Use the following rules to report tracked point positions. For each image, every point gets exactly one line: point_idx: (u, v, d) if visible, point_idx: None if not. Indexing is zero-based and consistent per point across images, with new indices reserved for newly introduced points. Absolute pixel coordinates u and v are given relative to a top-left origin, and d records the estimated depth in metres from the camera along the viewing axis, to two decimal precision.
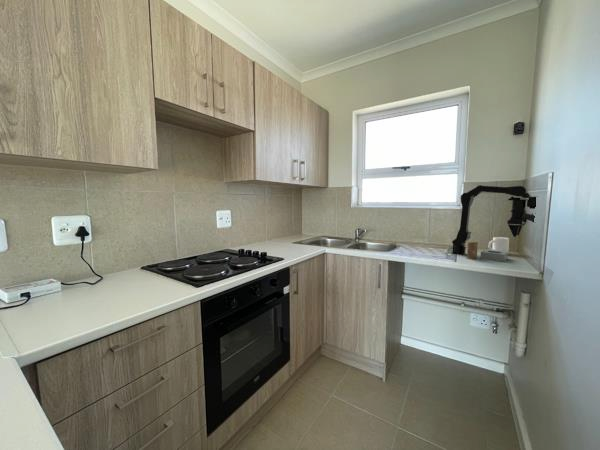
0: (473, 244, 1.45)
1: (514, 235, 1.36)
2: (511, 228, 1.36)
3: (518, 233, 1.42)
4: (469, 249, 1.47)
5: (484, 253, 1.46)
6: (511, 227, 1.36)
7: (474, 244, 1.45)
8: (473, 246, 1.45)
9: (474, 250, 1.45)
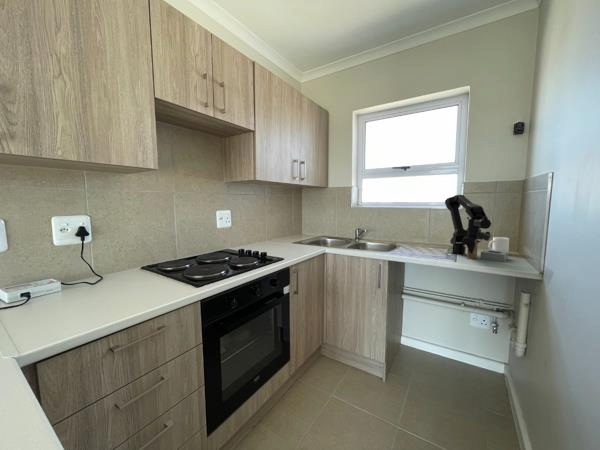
0: None
1: (470, 252, 1.46)
2: (467, 245, 1.46)
3: None
4: None
5: (484, 253, 1.46)
6: (467, 244, 1.46)
7: None
8: None
9: (474, 250, 1.45)
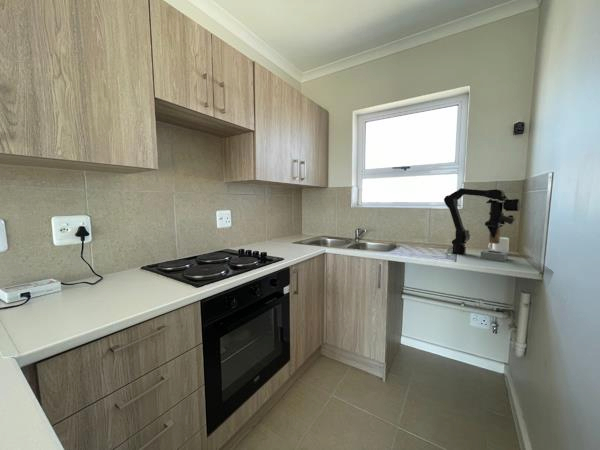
0: None
1: (493, 236, 1.44)
2: (490, 229, 1.44)
3: None
4: None
5: (484, 253, 1.46)
6: (490, 228, 1.44)
7: None
8: None
9: (497, 234, 1.43)
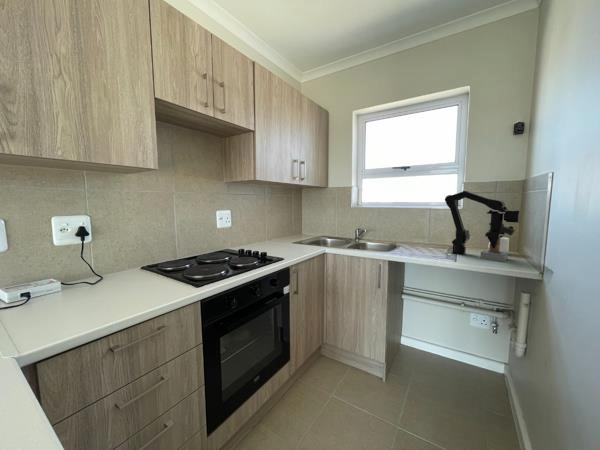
0: None
1: (493, 246, 1.45)
2: (490, 240, 1.45)
3: None
4: None
5: (484, 253, 1.46)
6: (490, 239, 1.45)
7: None
8: None
9: (497, 245, 1.44)
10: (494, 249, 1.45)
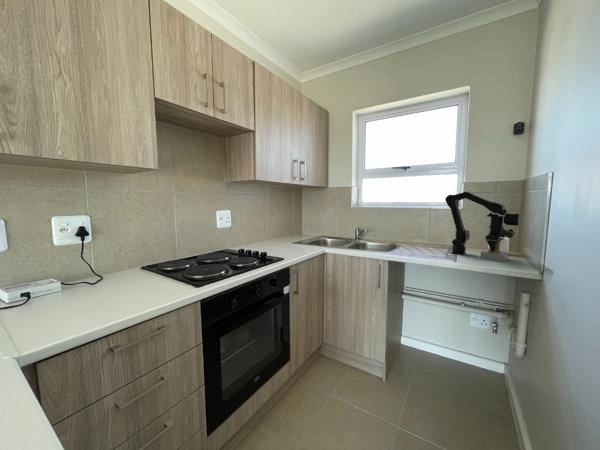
0: (496, 244, 1.44)
1: (492, 250, 1.44)
2: (489, 243, 1.44)
3: None
4: None
5: (484, 253, 1.46)
6: (489, 242, 1.43)
7: (497, 244, 1.44)
8: (496, 246, 1.44)
9: (497, 250, 1.44)
10: None
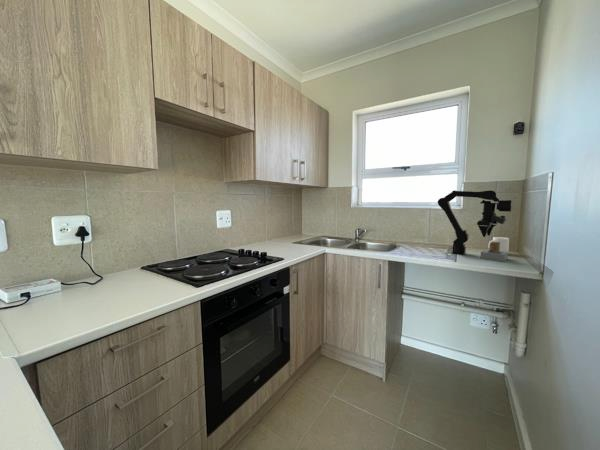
0: (496, 244, 1.44)
1: (483, 235, 1.49)
2: (481, 229, 1.49)
3: (489, 233, 1.54)
4: (492, 249, 1.46)
5: (484, 253, 1.46)
6: (481, 228, 1.49)
7: (497, 244, 1.44)
8: (496, 246, 1.44)
9: (497, 250, 1.44)
10: None
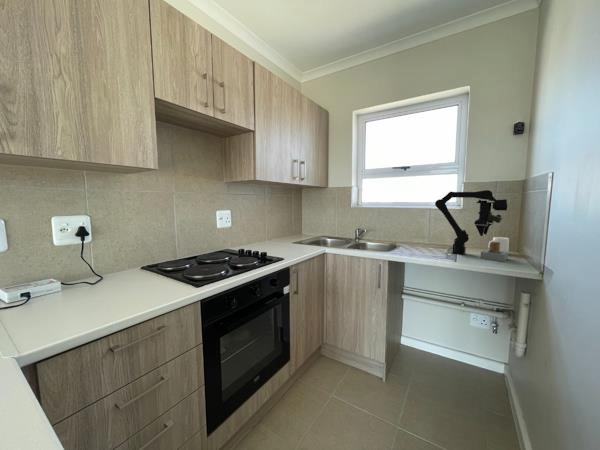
0: (496, 244, 1.44)
1: (481, 234, 1.51)
2: (478, 228, 1.51)
3: (486, 232, 1.57)
4: (492, 249, 1.46)
5: (484, 253, 1.46)
6: (478, 227, 1.51)
7: (497, 244, 1.44)
8: (496, 246, 1.44)
9: (497, 250, 1.44)
10: None
